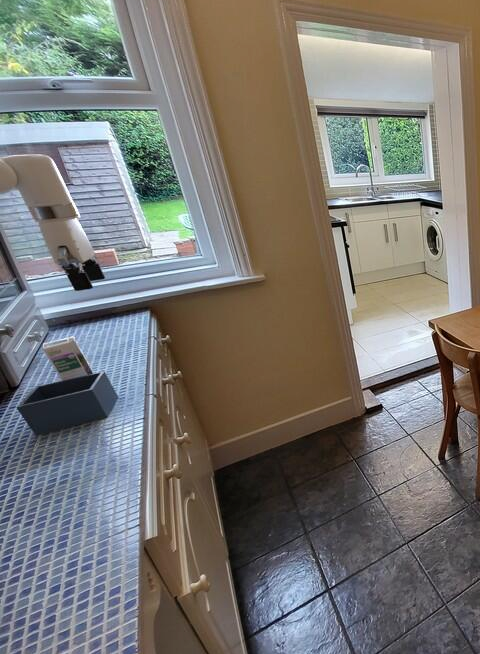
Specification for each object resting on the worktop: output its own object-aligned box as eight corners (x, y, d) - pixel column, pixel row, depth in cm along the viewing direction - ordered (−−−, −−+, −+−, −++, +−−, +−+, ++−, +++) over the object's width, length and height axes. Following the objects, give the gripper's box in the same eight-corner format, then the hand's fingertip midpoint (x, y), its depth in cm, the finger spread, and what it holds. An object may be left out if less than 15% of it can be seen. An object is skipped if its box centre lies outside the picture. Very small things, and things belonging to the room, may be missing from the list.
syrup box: (72, 400, 103) (41, 349, 97) (71, 392, 107) (41, 342, 101) (102, 390, 107) (74, 340, 101) (100, 383, 110) (73, 334, 104)
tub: (35, 436, 90) (16, 407, 87) (53, 413, 98) (35, 386, 95) (107, 417, 95) (91, 389, 92) (118, 397, 103) (104, 371, 100)
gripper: (48, 211, 99) (83, 279, 107) (14, 219, 86) (57, 297, 93) (89, 207, 103) (119, 274, 110) (63, 215, 89) (100, 290, 96)
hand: (91, 284), depth 101 cm, fingers open, 9 cm apart
